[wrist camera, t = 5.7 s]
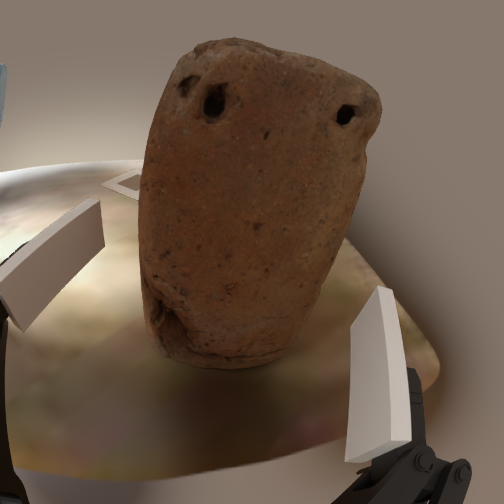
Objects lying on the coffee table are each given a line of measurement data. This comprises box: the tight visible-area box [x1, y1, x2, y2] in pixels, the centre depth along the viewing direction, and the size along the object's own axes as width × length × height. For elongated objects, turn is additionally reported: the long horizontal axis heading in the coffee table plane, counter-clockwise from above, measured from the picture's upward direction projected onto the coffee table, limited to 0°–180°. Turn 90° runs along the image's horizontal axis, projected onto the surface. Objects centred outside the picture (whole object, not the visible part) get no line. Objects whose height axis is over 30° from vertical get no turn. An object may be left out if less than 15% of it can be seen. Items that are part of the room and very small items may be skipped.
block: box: [138, 38, 382, 369], centre depth 15 cm, size 11×8×20 cm
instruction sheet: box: [101, 169, 142, 200], centre depth 39 cm, size 15×8×1 cm, turn 67°
